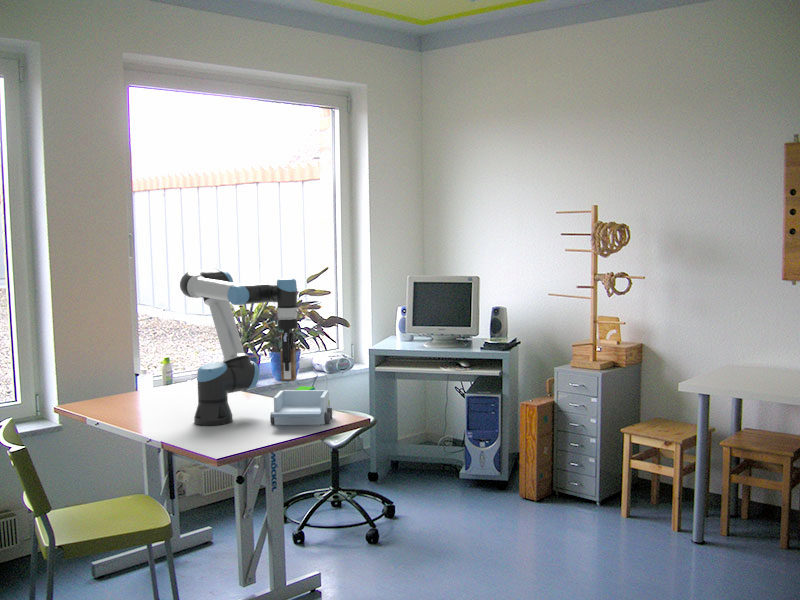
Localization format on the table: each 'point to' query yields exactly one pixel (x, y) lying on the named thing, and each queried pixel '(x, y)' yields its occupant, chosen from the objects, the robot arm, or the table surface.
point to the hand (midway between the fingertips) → (288, 377)
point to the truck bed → (302, 406)
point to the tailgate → (297, 414)
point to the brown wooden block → (293, 365)
